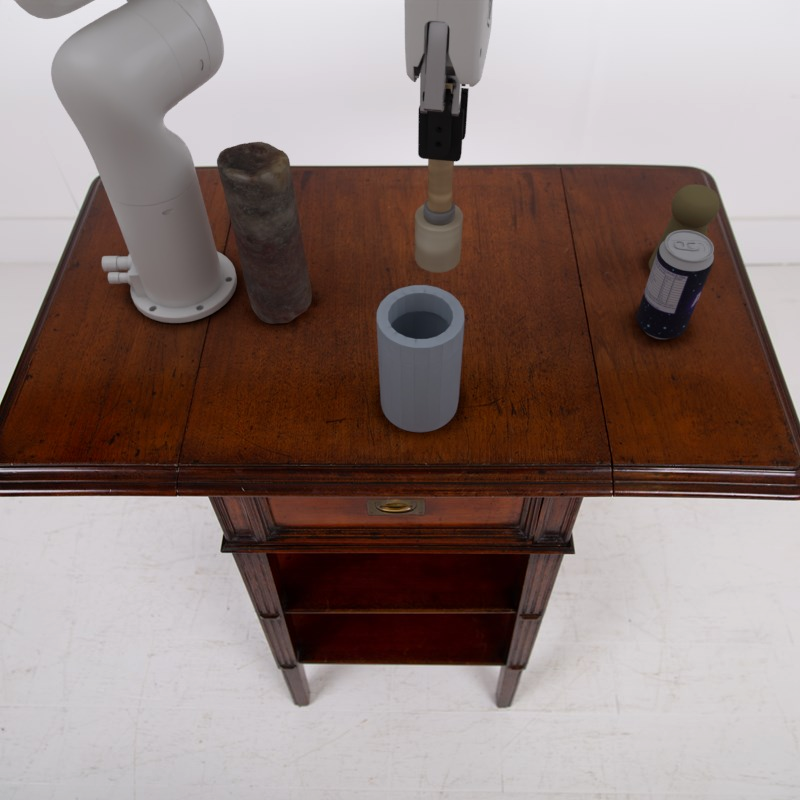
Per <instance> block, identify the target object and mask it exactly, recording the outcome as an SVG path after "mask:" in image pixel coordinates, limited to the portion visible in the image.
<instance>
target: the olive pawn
mask: <svg viewBox="0 0 800 800" xmlns="http://www.w3.org/2000/svg"><path fill="white" fill-rule="evenodd" d="M670 204H671V208H670V209H671V214H672V215H671V216H670V219H669V221H668V223H667V225H666V227H665V229H664V231H663V233H662V235H661V237H660V239H659V241H658V243H657V245H656V246H655V249H654V251H653V252H652V254H651V256H650V259H649V261H648V268H649V270H650V271H651V269H652V266H653V263H654V260H655V257H656V254H657V251H658V248H659V246H660V244H661V243H662V242H663V241H665V239H666V237H667V236H668V235H669V234H670V233H672V232H674V231H678V230H691V231H696V232H699V233H701V234H703V235H705V236H706V237H707V234H708V229H709V226H710V223H712V222H713V221H714V220H715V219H716V217H717V216H718V213H719V211H720V209H721V200H720V197H719V195H718V194H717V191H715V190H714V189H712V188H710V187H709V186H706V185H703V184H696V183H695V184H694V183H693V184H687V185H684V186H682V187H681V188H679V189H678V190H677V191H676V192H675V194H674V196H673V198H672V201H671V203H670Z"/></svg>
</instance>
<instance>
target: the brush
mask: <svg viewBox="0 0 800 800" xmlns="http://www.w3.org/2000/svg"><path fill="white" fill-rule="evenodd" d="M452 87H453V84H450V83H446V87H445V89H446V88H447V89H451V91H452ZM454 167H455V161H444V160H433V159H427V198H426V201H425V202H424V203H423V204H422V205H420V206H419V207H418V208H417V209H416V211H415V214H414V260H415V262H416V264H417V265H418V267H419V268H421V269H422V270H425V271H426V272H431V273H436V274H437V273H438V274H439V273H446V272H449V271H451V270H454V269H455V268H456V267H457V266H458V265H459V264H460V261H461V256H462V241H463V224H464V214H463V211H462V210H461V208H460V207H459V206H457V205H456V204H455V202H454V201H453V189H454V169H455V168H454Z"/></svg>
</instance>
